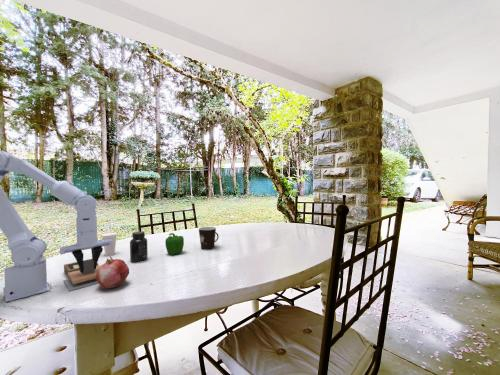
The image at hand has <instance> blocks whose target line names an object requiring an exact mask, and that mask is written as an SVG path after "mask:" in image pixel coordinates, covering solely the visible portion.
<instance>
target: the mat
mask: <svg viewBox="0 0 500 375" xmlns="http://www.w3.org/2000/svg"><path fill="white" fill-rule="evenodd" d="M63 284H64V285H65V287H66V288H67V290H68V291H69V292H72V291H76V290H79V289H83V288H87V287H91V286H94V285H97V284H98V285H99V283H98V281H97V279H96V278H95V279H91V280H88V281H84V282H80V283H76V284H73V283H72V281H71V280H70V279H68V278H67V279H64V280H63Z"/></svg>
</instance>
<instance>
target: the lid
mask: <svg viewBox="0 0 500 375" xmlns="http://www.w3.org/2000/svg"><path fill="white" fill-rule="evenodd" d="M101 265H102V264H100V265H99V264H98V266H96V269H95V270H94V261H93V260H92V258H90V259H83V267H84V270H83V272H82V273H81V272H80V270H78V271H74V272H69V273H68V277H69V278H70V280H71V281H72V283H73V284H76V283H80V282H84V281H88V280H91V279H95V278H96V274H97V271H98V269H99V268H100V266H101Z"/></svg>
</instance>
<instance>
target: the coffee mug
mask: <svg viewBox="0 0 500 375" xmlns="http://www.w3.org/2000/svg"><path fill="white" fill-rule="evenodd" d="M216 230H217V227H215V226H203V227H199V228H198V234H199V241H200V249H201V250H204V251H208V250H209V251H210V250H213V249H214V248H215V243H216V242H217V241H218V239H219V237H220V236H219V233H218V232H216ZM216 236H217V237H216Z"/></svg>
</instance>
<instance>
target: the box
mask: <svg viewBox="0 0 500 375" xmlns="http://www.w3.org/2000/svg"><path fill="white" fill-rule="evenodd" d="M97 266H99V263H98V262H97ZM78 270H80V269H79V265H78V263H77V261H76V262H75V261H74V262H70V263H66V264H63V273H64V275H65V276H66V278H67V279H70V278H69V277H68V273H69V272H74V271H78Z"/></svg>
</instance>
